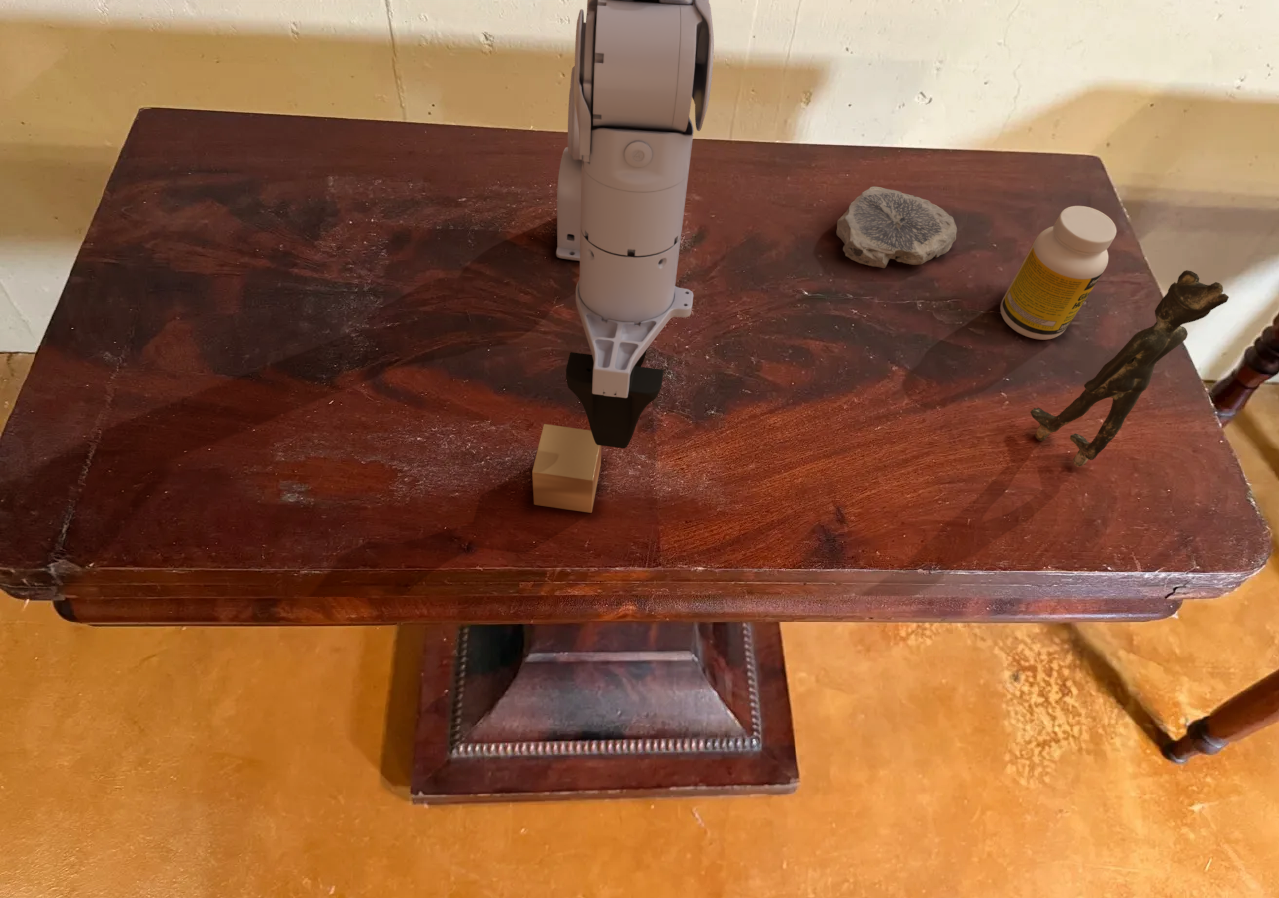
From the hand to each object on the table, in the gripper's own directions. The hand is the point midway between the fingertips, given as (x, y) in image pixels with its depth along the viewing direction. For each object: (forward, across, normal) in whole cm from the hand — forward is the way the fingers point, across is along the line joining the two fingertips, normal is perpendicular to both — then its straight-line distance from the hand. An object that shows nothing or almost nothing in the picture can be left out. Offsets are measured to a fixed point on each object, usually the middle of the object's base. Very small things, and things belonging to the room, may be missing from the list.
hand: (618, 402), depth 60 cm
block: (+10, +1, +4) cm, 11 cm away
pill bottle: (+8, +26, -36) cm, 45 cm away
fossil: (+6, +34, -23) cm, 42 cm away
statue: (+10, +11, -36) cm, 38 cm away
